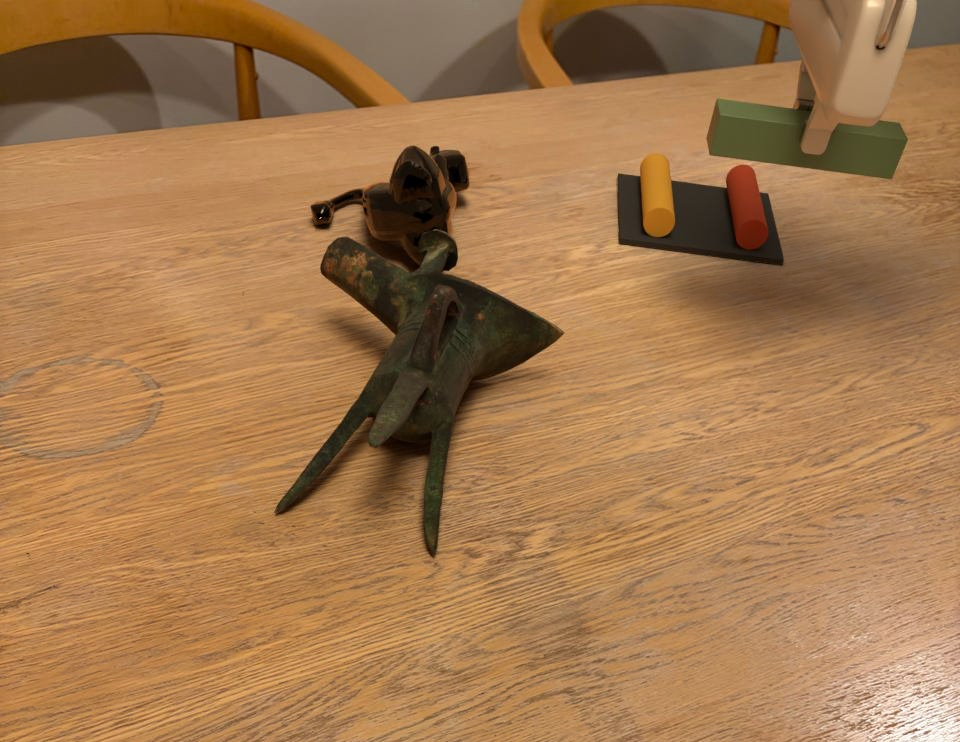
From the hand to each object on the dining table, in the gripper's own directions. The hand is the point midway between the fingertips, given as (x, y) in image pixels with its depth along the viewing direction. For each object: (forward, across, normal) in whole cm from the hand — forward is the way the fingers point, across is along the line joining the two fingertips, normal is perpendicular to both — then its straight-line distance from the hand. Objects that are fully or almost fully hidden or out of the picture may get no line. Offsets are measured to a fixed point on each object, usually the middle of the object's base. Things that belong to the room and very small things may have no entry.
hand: (805, 137), depth 77 cm
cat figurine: (+17, +12, +32) cm, 39 cm away
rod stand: (+17, +21, +2) cm, 27 cm away
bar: (+2, 0, 0) cm, 2 cm away
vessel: (+17, -19, +28) cm, 38 cm away
